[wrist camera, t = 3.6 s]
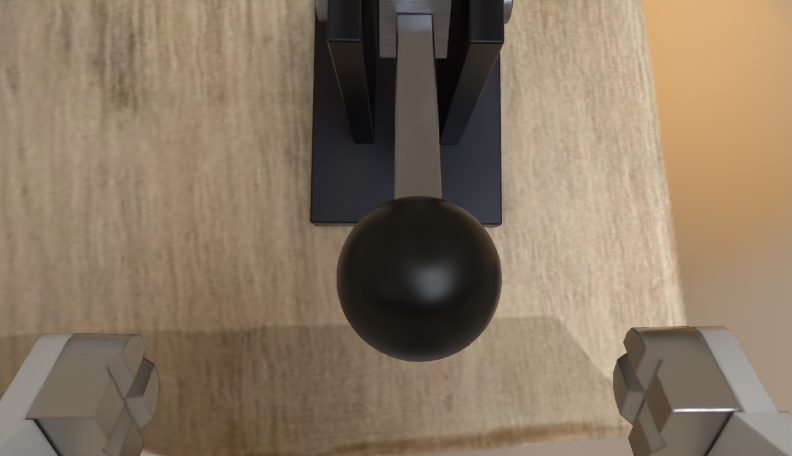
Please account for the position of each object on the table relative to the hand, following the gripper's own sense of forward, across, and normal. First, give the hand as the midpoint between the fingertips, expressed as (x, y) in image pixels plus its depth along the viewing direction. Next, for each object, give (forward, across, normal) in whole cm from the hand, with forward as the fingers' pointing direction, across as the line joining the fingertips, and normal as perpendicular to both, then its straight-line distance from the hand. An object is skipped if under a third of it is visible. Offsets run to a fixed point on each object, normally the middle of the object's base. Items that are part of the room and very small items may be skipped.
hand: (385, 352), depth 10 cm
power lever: (+8, -1, +1) cm, 8 cm away
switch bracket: (+20, -1, +6) cm, 21 cm away
